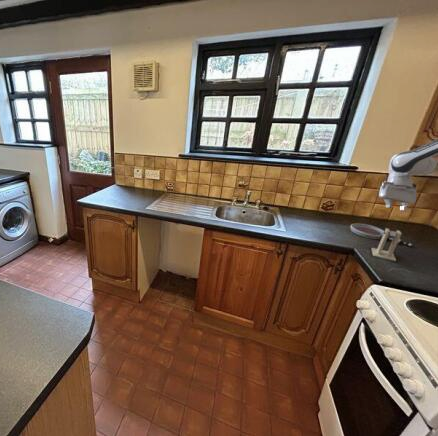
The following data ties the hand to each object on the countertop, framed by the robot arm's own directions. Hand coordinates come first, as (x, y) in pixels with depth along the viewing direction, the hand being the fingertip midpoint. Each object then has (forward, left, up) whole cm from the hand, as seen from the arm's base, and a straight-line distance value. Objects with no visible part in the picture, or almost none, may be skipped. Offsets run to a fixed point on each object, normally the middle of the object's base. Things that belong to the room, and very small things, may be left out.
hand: (395, 209), depth 130 cm
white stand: (+2, +22, -19) cm, 30 cm away
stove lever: (+2, +18, -12) cm, 22 cm away
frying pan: (+1, -6, -19) cm, 20 cm away
